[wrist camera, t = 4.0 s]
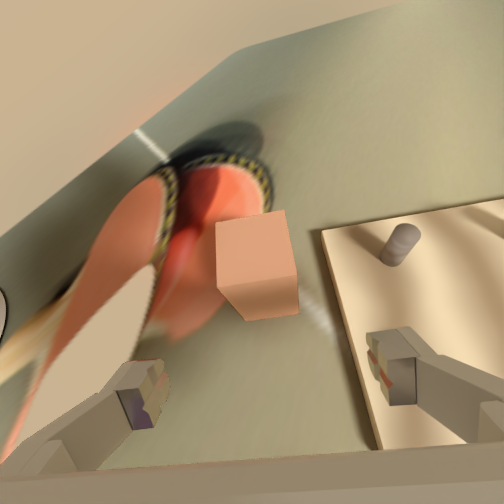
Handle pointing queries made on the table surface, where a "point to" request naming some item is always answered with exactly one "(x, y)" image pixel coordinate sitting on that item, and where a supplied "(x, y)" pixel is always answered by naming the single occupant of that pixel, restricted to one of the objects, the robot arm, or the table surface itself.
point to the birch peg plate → (422, 300)
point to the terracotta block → (257, 266)
